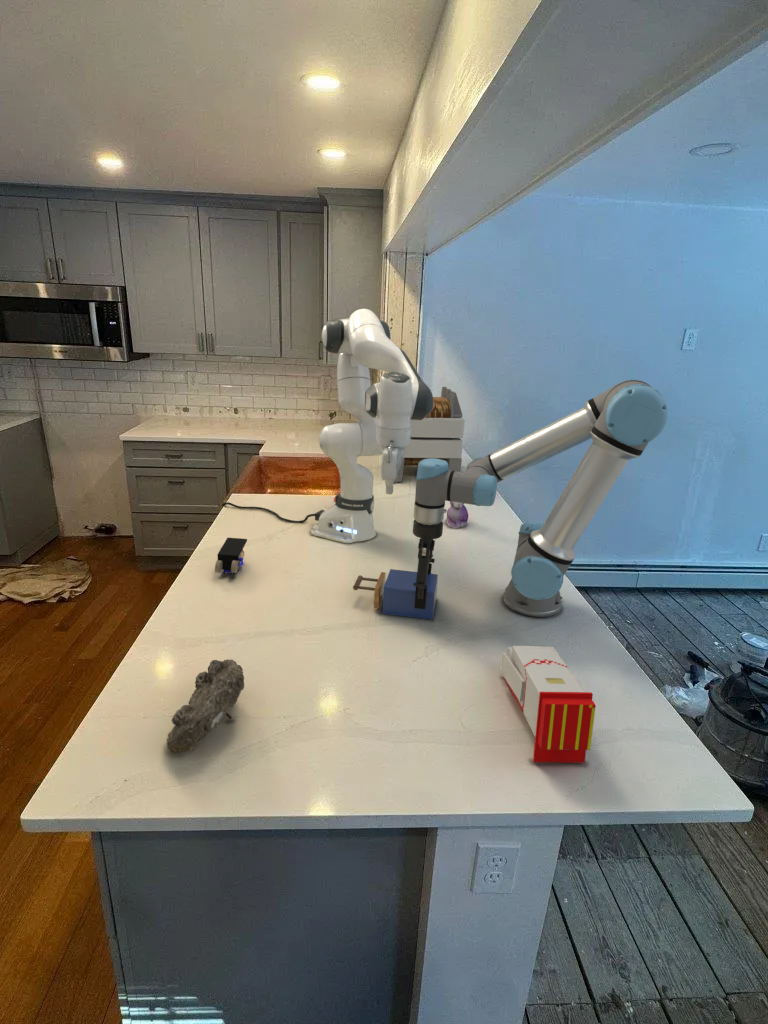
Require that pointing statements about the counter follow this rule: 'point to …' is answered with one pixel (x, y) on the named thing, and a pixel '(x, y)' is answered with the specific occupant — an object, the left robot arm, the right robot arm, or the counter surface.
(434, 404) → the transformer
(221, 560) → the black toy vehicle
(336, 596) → the counter surface
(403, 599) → the blue square-sided box
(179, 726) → the fossil
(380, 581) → the wooden drawer
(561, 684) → the toy
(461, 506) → the figurine
